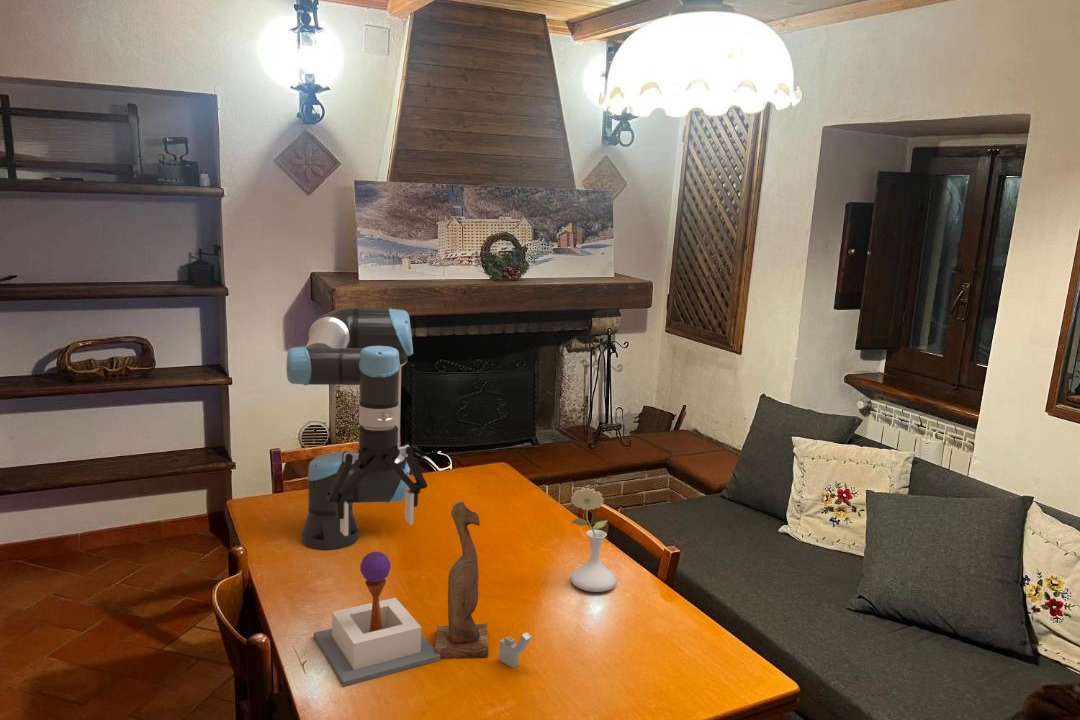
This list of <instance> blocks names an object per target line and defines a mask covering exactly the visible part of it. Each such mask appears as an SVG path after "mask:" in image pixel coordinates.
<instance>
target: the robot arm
mask: <svg viewBox="0 0 1080 720" xmlns="http://www.w3.org/2000/svg"><path fill="white" fill-rule="evenodd" d="M412 335H413V334H412V329H411V320H410V315H409V312H407V311H406V310H405V309H394V308H391V307H390V308H374V307H373V308H371V307H370V308H367V307H366V308H364V307H363V308H361V307H359V308H358V307H357V308H355V307H345V308H340V309H335V310H332V311H330V312H327V313H325V314H322V315H321V316H320V317H318V318H317V319H316V320H314V321H313V323H312V324H311V326H310V328H309V331H308V341H307V344H306V345H305V346H298V347H291V348H289V349H288V351H287V354H286V379H287V381H288V382H289V383H290V384H294V385H303V386H309V385H310V386H311V385H313V386H315V385H316V386H317V385H320V386H321V385H322V386H323V385H324V386H326V385H328V386H329V385H331V386H333V385H334V386H335V385H339V386H359V406H358V407H359V410H358V411H359V413H358V424H359V425H360V426H359V428H358V450H357V452H349V451H347V450H344V451H335V452H329V453H325V454H322V455H319V456H316V457H315V458H314V459H312V460H311V461H310V462H309V464H308V471H307V472H308V474H307V480H308V481H307V482H308V483H307V484H308V485H307V487H308V490H307V491H308V495H307V497H308V501H307V502H308V503H307V506H308V507H307V508H308V510H307V511H308V513H307V515H306V519H305V521H304V523H303V527H302V530H301V542H302V544H303V545H304V546H306V547H308V548H311V549H315V550H324V551H325V550H327V551H328V550H338V549H343V548H347V547H349V546H352V545H354V544H356V542H357V541H358V540H359V539H360V528H359V525H358V522H357V519H356V516H355V513H354V509H353V508H354V507H353V505H354V503H358V504H360V503H363V504H365V503H387V504H390V503H393V502H396V503H397V502H402V501H403V500H405V502H404V504H405V505H404V521H406V522H407V523H408V524H409V525H414V517H415V516H414V512H415V511H414V510H415V509H414V508H416V507H418V503H419V494H420V493H421V490H422V489H426V488H427V487H428V483H427V481H426V479H425V477H424V476H423V473H422V471H421V469H420V467H419V465H418V463H417V460H416V458H415V457H414V456H415V455H414V448H413V447H412V446H410V445H409V444H407V443H405V444H403V445H402V446H401V445H400V442H401V441H400V439H401V402H402V401H401V397H402V392H401V391H402V367H403V366H404V365H406V363H408V357H410V356H411V355H412V356H413V354H414V346H413V337H412ZM410 472H411V474H412V476H413V477H414V480H415V482H414V481H413V480H412V479H411V478H410ZM408 488H409V489H408Z"/></svg>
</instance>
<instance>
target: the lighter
mask: <svg viewBox="0 0 1080 720" xmlns="http://www.w3.org/2000/svg"><path fill="white" fill-rule="evenodd" d="M531 639H532V636H531V634H530V633H529V632H524V633H523V634H521V635H520V638H519V639H518V641H517V643H516V641H515V640H516V639H514V638H513V637H511V636H505V637H504V638H502V639H500V640H499V649H498V661H499V662H501V663H502V664H504V665H506V666H509V667H510V668H513V669H514V668H516V667H518V666H519V665H520V664H519V660H520V653H522V652H524V651H526V650H525V649H526V648H527V646H528V644H529V642H530V640H531Z"/></svg>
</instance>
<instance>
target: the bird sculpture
mask: <svg viewBox="0 0 1080 720" xmlns="http://www.w3.org/2000/svg"><path fill="white" fill-rule="evenodd" d="M450 514H451V518H452V519H453V522H454V524H455V525H454V526H455V527H456V531H457V534H458V538H459V540H460V541H459V542H460V544H461V545H460V546H461V553H462V554H461V555H460V556H459V557H458V558H457V559H456V560H455V561H454V563H453V564H452V566H451V568H450V570H449V573H448V580H447V584H448V587H447V617H448V620H447V621H448V622H447V623H448V625H437V626H436V634H435V644H434V645H435V646H434V649H435V654H439V655H440V660H449V659H450V660H453V659H480V658H481V659H483V658H485V659H487V658H488V656H489V640H488V638H489V637H488V632H486V631H488V623H486V622H485V623H475V621H474V618H473V616H472V614H474V612H475V610H476V609H477V606H478V601H479V564H478V562H479V561H478V554H477V549H476V547H475V544H474V541H473V539H472V536H471V533H470V531H469V528H468V526H470V525H475V526H477V527H478V526H480V524H481V523H480V517H479V514H478V513H477V512H475V511H474V510H471V509H470V508H468V507H467V505H466V504H465V502H464V501H463V500H458V501H456V502H455V503H454V504H453V506H452V509H451V512H450Z"/></svg>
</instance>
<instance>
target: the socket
mask: <svg viewBox="0 0 1080 720" xmlns="http://www.w3.org/2000/svg"><path fill="white" fill-rule="evenodd" d="M372 604H373V602H369V603H366V604H360V605H357V606H352V607H347V608H344V609H343V608H342V609H339V610H333V611H332V612H331V615H332V616H331V628H328V629H324V630H320V631H317V632H316V631H315V632H313V639H314V641H315V643H317V646H318V647H319V648H320V650H321V651H322V654H323V655H324V657H325V658H326V660H327V662H328V663H329V665H330V667H331V669H332V670H333V671H334V673H335V675H336V676H337V678H338V680H339V682H340V683H341V685H342V686H343V688H344V687H349V686H353V685H355V684H358V683H362V682H367V681H370V680H374V679H376V678H377V679H378V678H381V677H384V676H388V675H391V674H392V675H393V674H395V673H398V672H402V671H406V670H409V669H413V668H417V667H420V666H424V665H427V664H432V663H436V662H438V661H441V659H440V655H439V654H435V647H434V646H433V645H432V644H431V643H430V641H429V640H428V639H427V638H426V637H425V636H424V635H423V633H422V625H420V624H419V622H417V621H416V619H415V618H414V617H413V616H412V615H411V614H410V612H409V611H408V610H407V609H406V607H404V605H403V604H402V603H401V602H400V601H399V600H398V598H397V597H392V598H388V599H384V600H379V605H380V612H381V620H382V627H383V629H381V630H377V631H373V632H369V631H370V622H371V613H372Z"/></svg>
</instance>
